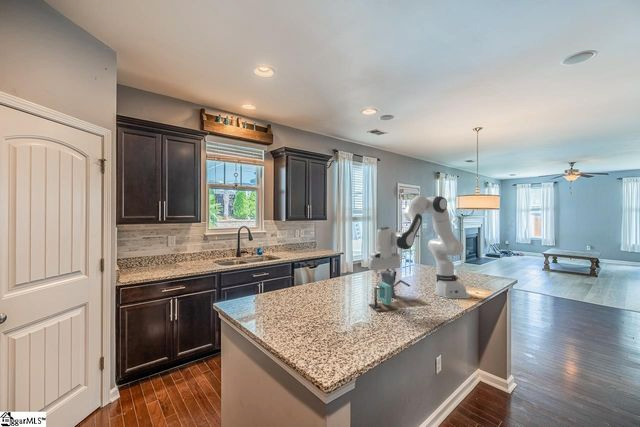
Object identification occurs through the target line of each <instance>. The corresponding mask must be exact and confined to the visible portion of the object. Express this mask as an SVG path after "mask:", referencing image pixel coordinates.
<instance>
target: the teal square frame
mask: <svg viewBox="0 0 640 427" xmlns="http://www.w3.org/2000/svg"><path fill="white" fill-rule="evenodd" d="M377 285H378V286H377V287H383V288H385V296H384V289H377V296H378V300H379V301H381V303H385V304H386V305H391V302H392V297H391V286H390V285H388V284H386V283H385V282H382V281H378V284H377Z"/></svg>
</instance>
